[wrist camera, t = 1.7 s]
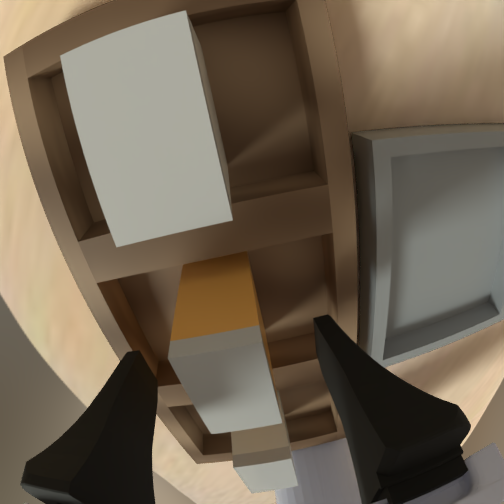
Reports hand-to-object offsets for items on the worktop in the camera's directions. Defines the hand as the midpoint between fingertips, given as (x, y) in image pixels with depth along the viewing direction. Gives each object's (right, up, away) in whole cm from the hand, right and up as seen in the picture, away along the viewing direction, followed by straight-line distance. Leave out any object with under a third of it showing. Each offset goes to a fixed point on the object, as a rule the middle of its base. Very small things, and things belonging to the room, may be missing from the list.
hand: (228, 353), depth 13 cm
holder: (0, +2, +4) cm, 5 cm away
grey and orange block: (0, +2, +3) cm, 4 cm away
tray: (+12, +5, +4) cm, 14 cm away
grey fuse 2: (+1, -6, +8) cm, 10 cm away
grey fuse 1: (-2, +9, -1) cm, 10 cm away
